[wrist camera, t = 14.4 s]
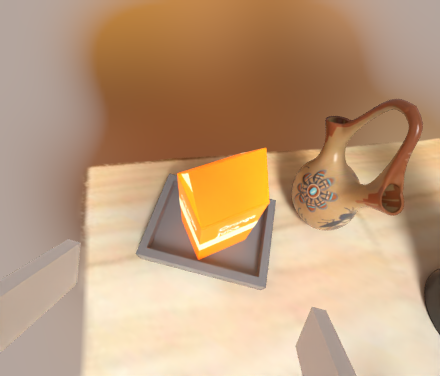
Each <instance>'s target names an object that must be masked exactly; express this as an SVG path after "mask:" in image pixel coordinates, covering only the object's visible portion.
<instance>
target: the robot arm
mask: <svg viewBox="0 0 440 376" xmlns="http://www.w3.org/2000/svg"><path fill="white" fill-rule="evenodd" d="M80 245H81V243H80V242H76V241H73V240H69V239H67V240H66V241H64V242H63V243H61V244H59V245H57V246H56V247H54V248H52V249H51V250H49V251H48V252H46V253H44V254H42V255H41V256H39V257H38V258H36V259H34V260H33V261H31V262H29V263H27V264H26V265H24V266H22V267H21V268H19V269H17V270H16V271H14V272H12V273H11V274H9V275H7V276H6V277H4V278H2V279H1V280H0V353H1V352H2V351H3V350H4V349H5V348H7V347H8V346H9V345H10V344H11V343H12V342H13V341H14V340H15V339H16V338H18V337H19V336H20V335H21V334H22V333H23V332H24V331H25V330H26V329H28V328H29V327H30V326H31V325H32V324H33V323H34V322H35V321H36V320H37V319H39V318H40V317H41V316H42V315H43V314H44V313H45V312H46V311H47V310H49V309H50V308H51V307H52V306H53V305H54V304H55V303H56V302H57V301H58V300H60V299H61V298H62V297H63V296H64V295H65V294H66V293H67V292H68V291H70V290H71V289H72V288H73V287H74V286H75V285H76V284H77V277H78V266H79V256H80ZM425 300H426V305H427V309H428V312H429V314H430V317H431V319H432V321H433V323H434V325H435V327H436V329H437V330H438V332H439V333H440V269H438V270H436V271H434V272H433V273H432V274H431V275H430V276H429V278H428V280H427V282H426V286H425ZM296 350H297V354H298V358H299V362H300V366H301V370H302V375H303V376H356V374H355V372H354V369H353V367H352V365H351V363H350V361H349V359H348V357H347V355H346V352H345V350H344V348H343V346H342V344H341V342H340V340H339V337H338V335H337V333H336V331H335V329H334V327H333V325H332V323H331V320H330V318H329V316H328V314H327V312H326V311H325V310H322V309H318V308H315V307H312V308H311V310H310V312H309V315H308V317H307V320H306V322H305V325H304V327H303V329H302V332H301V334H300V337H299V339H298V341H297V344H296Z"/></svg>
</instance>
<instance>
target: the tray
mask: <svg viewBox="0 0 440 376" xmlns="http://www.w3.org/2000/svg"><path fill="white" fill-rule="evenodd" d="M179 197H180V196H179V187H178V178H177V175H173V174H169V176H168V178H167V181H166V183H165V185H164V188H163V190H162V192H161V195H160V197H159V200H158V202H157V204H156V207H155V209H154V211H153V214H152V216H151V219H150V221H149V223H148V226H147V228H146V230H145V233H144V235H143V238H142V240H141V242H140V245H139V247H138V249H137V252H136V254H137V256H138V257H139V258H141V259H145V260H149V261H152V262H156V263H160V264H164V265H168V266H171V267H175V268H179V269H183V270H187V271H190V272H194V273H198V274H202V275H205V276H209V277H213V278H217V279H221V280H224V281H228V282H232V283H236V284H240V285H243V286H247V287H251V288H255V289H259V290H262V289H264V288H266V281H267V272H268V264H269V255H270V246H271V238H272V229H273V220H274V212H275V203H276V200H272V199H269V200H270V202H269V204H268V205H267V207H266V208H265V210H264V212H263V213H262V215H261V216H260V218H259V219H258V221H257V223H256V224H255V226H254V227H253V228H252V230H251V231H250V233H249V234H248V236H247V237H246V239H245V240H242V241H240V242H238V243H236V244H233V245H231V246H229V247H227V248H224V249H222V250H220V251H218V252H215V253H213V254H211V255H209V256H206V257H204V258H202V259H200V260H198V258H197V256H196V253H195V251H194V248H193V246H192V243H191V241H190V238H189V236H188V233H187V231H186V228H185V226H184V224H183V221H182V215H181V206H180V200H179Z"/></svg>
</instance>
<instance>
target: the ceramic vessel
mask: <svg viewBox="0 0 440 376" xmlns="http://www.w3.org/2000/svg"><path fill="white" fill-rule="evenodd" d="M393 109H396V110H398V111H400V112H402V113H403V114H404V115H405V116H406V119H407V121H408V124H409V130H408V134H407V136H406V138H405V140H404V142H403V144H402V145H401V147H400V149H399V150H398V152H397V153H396V155H395V156H394V158H393V159H392V160H391V162H390V163H389V164H388V166H387V167H386V168H385V169H384V170H383V172H382V173H381V174H380V175H379V176H378V177H377V178H376V179H375V180H374V181H372V182H371V183H369V184H367V185H363V184H360V182H359V180H358V178H357V176H356V174H355V173H354V171H353V170H352V169H351V168H350V167H349V166H348V165H347V163H346V160H345V149H346V145H347V143H348V141H349V140H350V139H351V137H352V136H353V135H354V134H355V133H356V132H357V131H358V130H359V129H360V128H361V127H363V126H364V125H365V124H366V123H368V122H369V121H371V120H372V119H374V118H376V117H377V116H379V115H381V114H383V113H385V112H387V111H389V110H393ZM422 129H423V122H422V118H421V115H420V113H419V111H418V108H417V107H416V106H415V105H413V104H411V103H410V102H408V101H405V100H402V99H392V100H389V101H386V102H384V103H382V104H380V105H378V106H376V107H374V108H373V109H371V110H370V111H368V112H366V113H365V114H363V115H362V116H360V117H358V118H356V119H354V120H349V119H347V118H344V117H339V116H329V117H327V118H326V138H325V143H324V146H323V148H322V150H321V152H320V154H319V155H318V156H317V157H316V158H315V159H313V160H311V161H309V162H307V163H306V164H305V165H304V166H303V167H302V168H301V169H300V170H299V171H298V173H297V174H296V176H295V179H294V181H293V185H292V201H293V205H294V208H295V210H296V212H297V214H298V215H299V217H300V218H301V219H302V220H303V221H304V222H305V223H307V224H308V225H310V226H311V227H313V228H316V229H319V230H334V229H338V228H340V227H342V226H344V225H346V224H347V223H348V222H350V221H351V220H352V218H353V217H354V216H355V214H356V213H357V211H358V209H359V208H361V207H369V208H373V209H376V210H379V211H381V212H383V213H386V214H388V215H397V214H399V213H400V212H401V211H402V210H403V207H404V198H403V185H404V175H405V170H406V166H407V163H408V161H409V158H410V156H411V154H412V152H413V150H414V148H415V146H416V144H417V142H418V140H419V138H420V135H421V133H422Z"/></svg>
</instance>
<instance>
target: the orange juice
mask: <svg viewBox="0 0 440 376" xmlns="http://www.w3.org/2000/svg"><path fill="white" fill-rule="evenodd" d="M177 178H178V187H179V196H180V197H179V200H180V206H181V215H182V221H183V224H184V226H185V228H186V231H187V233H188V236H189V238H190V241H191V243H192V246H193V248H194V251H195V253H196V256H197V258H198V260H200V259H202V258H204V257H206V256H209V255H211V254H213V253H215V252H218V251H220V250H222V249H224V248H227V247H229V246H231V245H233V244H236V243H238V242H240V241H242V240H245V239H246V237H247V236H248V234H249V233H250V231H251V230H252V228H253V227H254V226H255V224H256V223H257V221H258V219H259V218H260V216H261V215H262V213H263V212H264V210H265V208H266V207H267V205H268V204H269V202H270V200H269V187H268V171H267V155H266V148H263V149H259V150H255V151H250V152H245V153H241V154H237V155H234V156H231V157H228V158H225V159H222V160H218V161H215V162H212V163H209V164H206V165H202V166H199V167H196V168H193V169H190V170H186V171H183V172H180V173H178V174H177Z"/></svg>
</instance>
